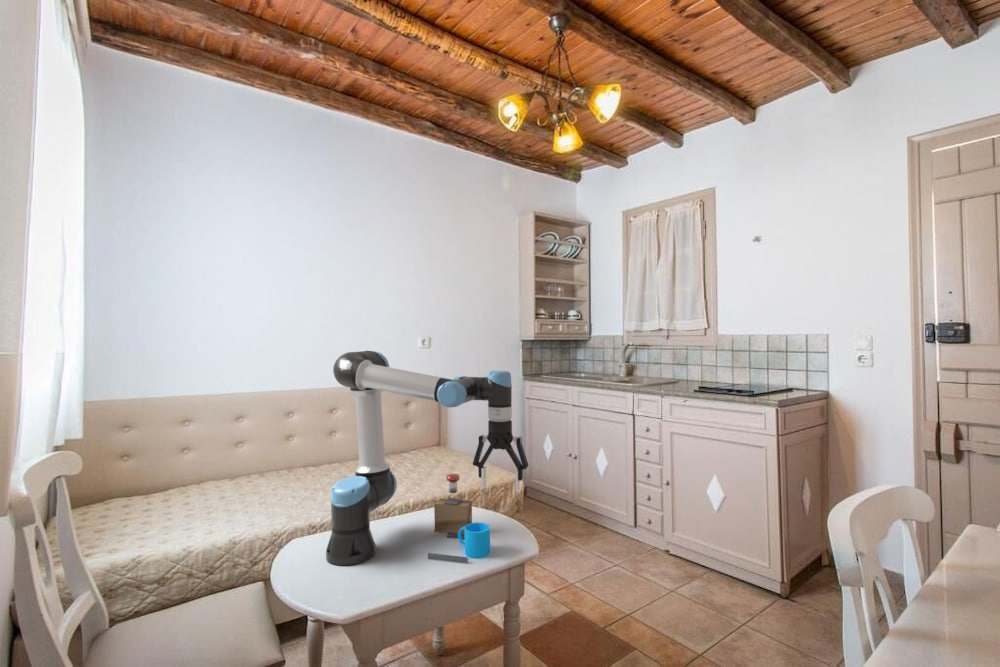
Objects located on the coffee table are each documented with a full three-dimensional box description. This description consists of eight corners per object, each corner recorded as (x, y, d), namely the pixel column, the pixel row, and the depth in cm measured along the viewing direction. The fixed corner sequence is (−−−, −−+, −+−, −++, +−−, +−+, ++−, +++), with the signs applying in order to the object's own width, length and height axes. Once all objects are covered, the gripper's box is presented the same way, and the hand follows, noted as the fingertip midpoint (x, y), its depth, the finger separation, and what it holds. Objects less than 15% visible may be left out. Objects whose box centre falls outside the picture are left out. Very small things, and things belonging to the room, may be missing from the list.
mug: (495, 551, 156) (494, 526, 156) (479, 561, 150) (479, 534, 150) (466, 542, 163) (466, 518, 163) (450, 551, 157) (450, 526, 157)
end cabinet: (466, 535, 169) (466, 505, 169) (434, 532, 172) (434, 502, 172) (472, 528, 175) (471, 499, 175) (441, 525, 178) (440, 496, 178)
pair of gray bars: (427, 558, 152) (427, 553, 152) (447, 536, 168) (447, 532, 168) (467, 563, 148) (467, 558, 148) (483, 540, 165) (483, 536, 165)
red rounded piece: (444, 493, 172) (444, 477, 172) (449, 489, 176) (449, 473, 176) (456, 494, 170) (456, 477, 170) (461, 490, 175) (461, 474, 175)
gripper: (462, 420, 154) (462, 489, 154) (533, 423, 148) (533, 495, 148) (469, 416, 161) (470, 482, 161) (537, 418, 155) (538, 488, 155)
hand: (500, 489), depth 154 cm, fingers open, 10 cm apart
